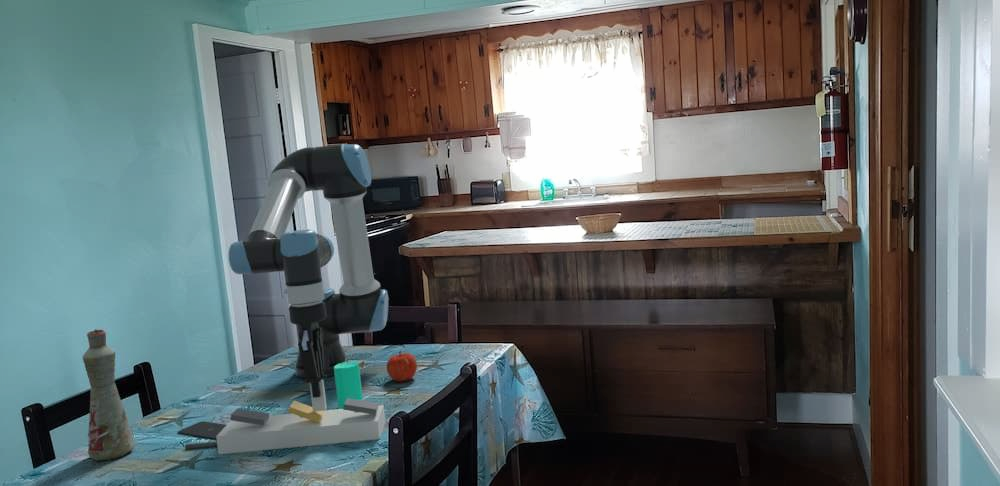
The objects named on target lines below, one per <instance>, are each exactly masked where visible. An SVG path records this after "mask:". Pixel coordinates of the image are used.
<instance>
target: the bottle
mask: <svg viewBox="0 0 1000 486" xmlns="http://www.w3.org/2000/svg"><path fill="white" fill-rule="evenodd" d="M86 336H87V340H88V345H89V347H88V348H87V350H86V351H85V352H84V354H82V361H83V364H84V368H85V371H86V375H87V378H88V382H89V386H90V396H89V398H90V399H89V420H88V432H87V438H88V449H87V454H88V456H89V458H91V460H94V461H109V460H110V461H111V460H115V459H118V458H120V457H123V456H125V455H127V454H128V453H129V452H131V451H133V449H134V448H135V447H136V442H135V439H134V435H133V432H132V429H131V425H130V423H129V419H128V417H127V414H126V411H125V408H124V405H123V403H122V400H121V397H120V394H119V391H118V388H117V385H116V383H115V379H116V375H115V373H116V372H115V371H116V369H115V367H116V360H115V359H116V351H115V350H114V349H113V348H112V347H110V346H109V345H108V344H107V343H106V342H107V338H106V337H107V334H106V331H105V330H104V329H98V328H95V329H94V330H92V331H89V332H87V334H86Z"/></svg>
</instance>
